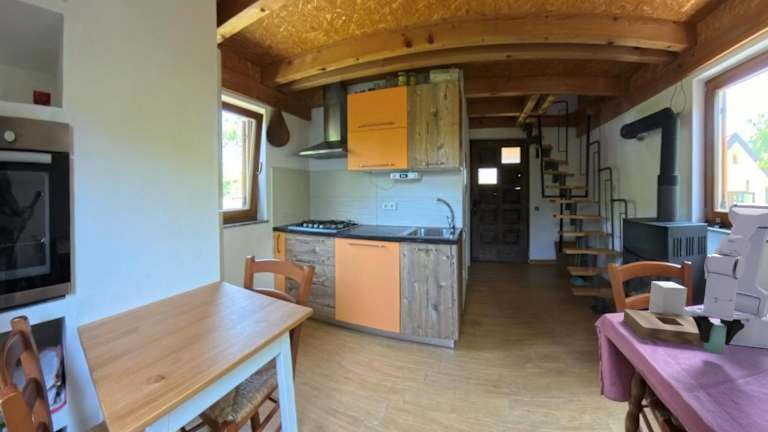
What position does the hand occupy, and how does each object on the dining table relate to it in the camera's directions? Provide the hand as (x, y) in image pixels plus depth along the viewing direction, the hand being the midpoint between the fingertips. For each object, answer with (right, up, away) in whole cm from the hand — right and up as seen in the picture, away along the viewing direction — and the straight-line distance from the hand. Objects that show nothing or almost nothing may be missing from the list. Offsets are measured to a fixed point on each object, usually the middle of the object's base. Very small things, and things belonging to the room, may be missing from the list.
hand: (714, 342), depth 86 cm
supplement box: (+12, -2, +27) cm, 30 cm away
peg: (0, -2, 0) cm, 2 cm away
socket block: (+2, -3, +16) cm, 16 cm away
